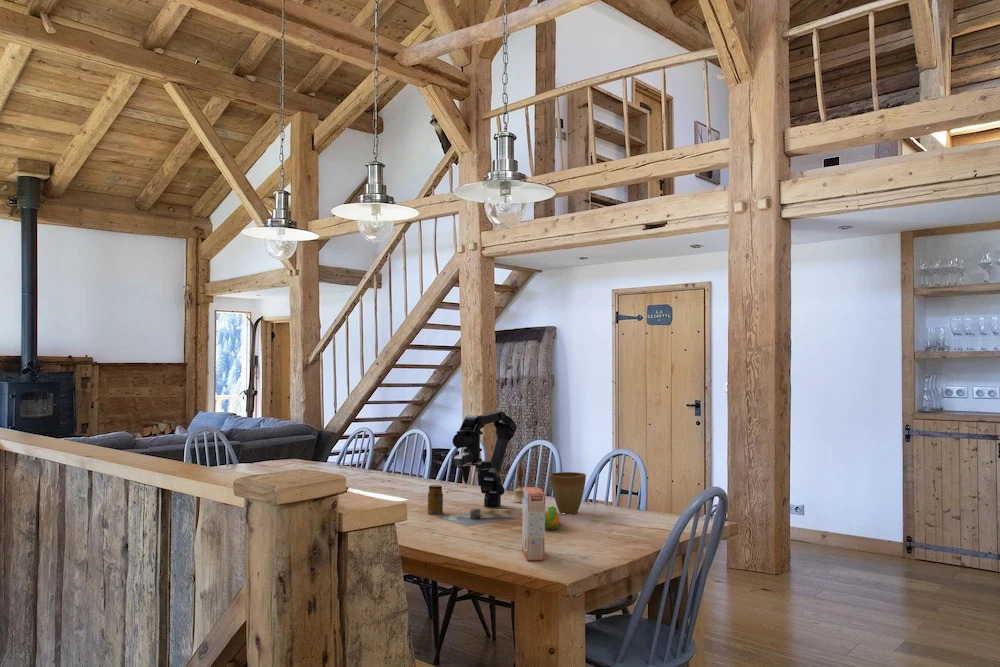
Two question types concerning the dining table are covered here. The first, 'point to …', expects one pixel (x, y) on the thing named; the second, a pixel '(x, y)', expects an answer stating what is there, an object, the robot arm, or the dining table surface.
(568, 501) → the plant pot
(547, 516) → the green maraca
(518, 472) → the hand bell
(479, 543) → the dining table surface
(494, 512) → the dial lever
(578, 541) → the dining table surface
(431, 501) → the condiment
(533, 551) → the cracker box
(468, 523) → the grey board
